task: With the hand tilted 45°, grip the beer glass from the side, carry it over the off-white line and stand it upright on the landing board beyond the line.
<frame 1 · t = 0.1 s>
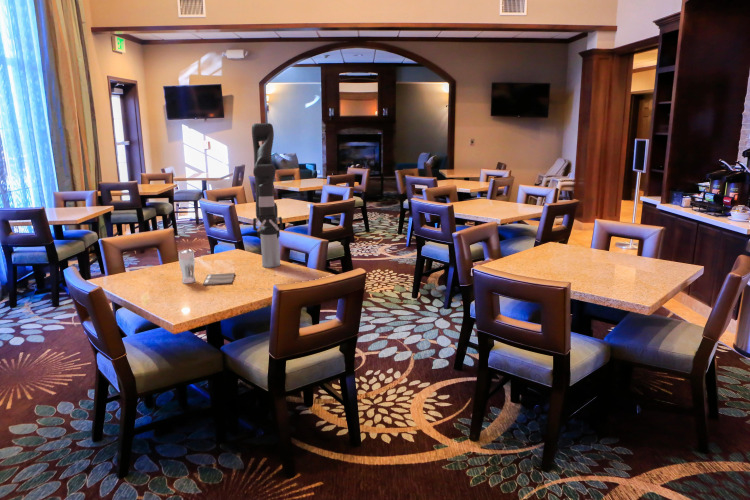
hand: (268, 238, 267), 17 cm above the table, tool pointing down, fingers open, 8 cm apart
landing board: (219, 280, 259), on the table
beer glass: (189, 282, 257), on the table
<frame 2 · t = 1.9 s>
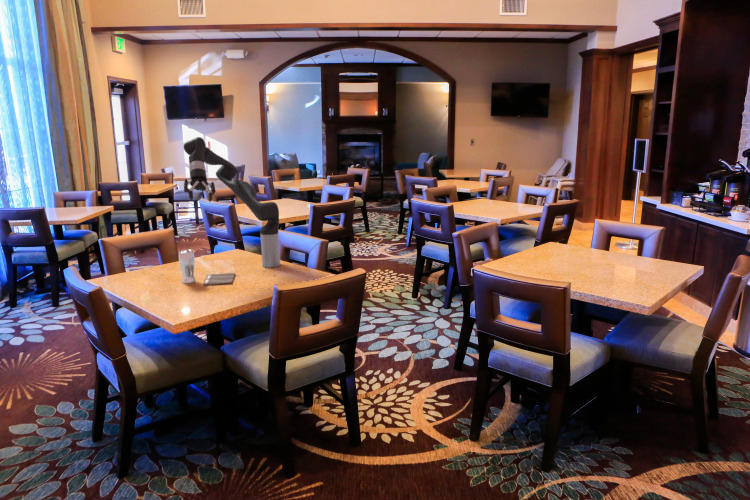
hand: (201, 199, 256), 38 cm above the table, tool tilted 40°, fingers open, 8 cm apart
nothing on the table moved.
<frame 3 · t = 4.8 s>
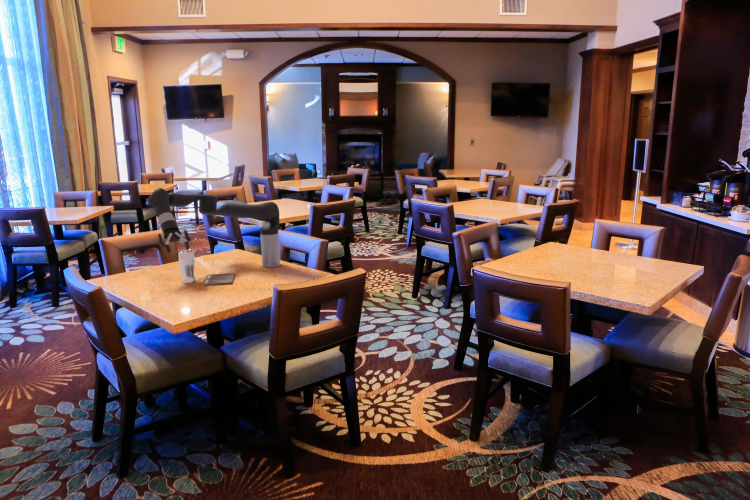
hand: (178, 251, 259), 14 cm above the table, tool tilted 45°, fingers open, 8 cm apart
nothing on the table moved.
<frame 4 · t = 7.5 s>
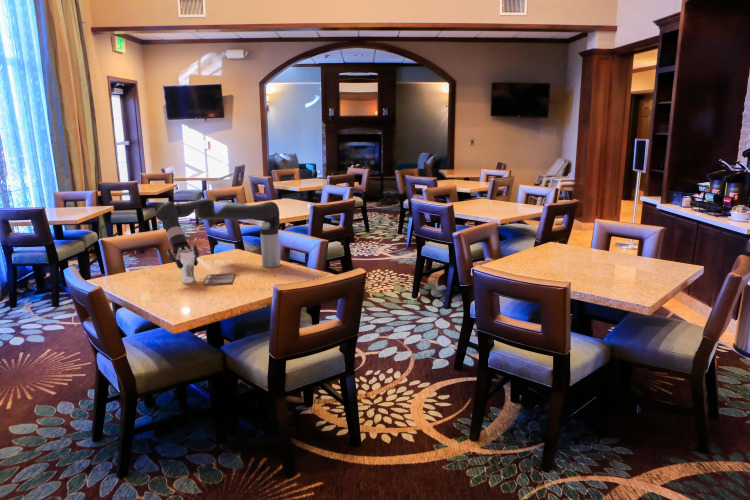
hand: (188, 266, 254), 8 cm above the table, tool tilted 45°, fingers closed on beer glass, 7 cm apart
beer glass: (189, 282, 257), on the table, touching gripper
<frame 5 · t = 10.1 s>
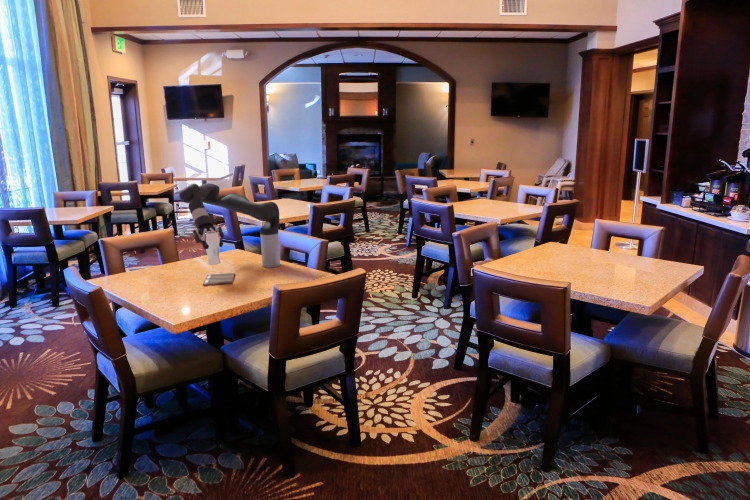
hand: (214, 247, 253), 17 cm above the table, tool tilted 45°, fingers closed on beer glass, 7 cm apart
beer glass: (214, 263, 256), point 8 cm above the table, touching gripper
when the fingers open (10 cm above the table, at t = 13.0 s): beer glass drops 1 cm, resting on landing board.
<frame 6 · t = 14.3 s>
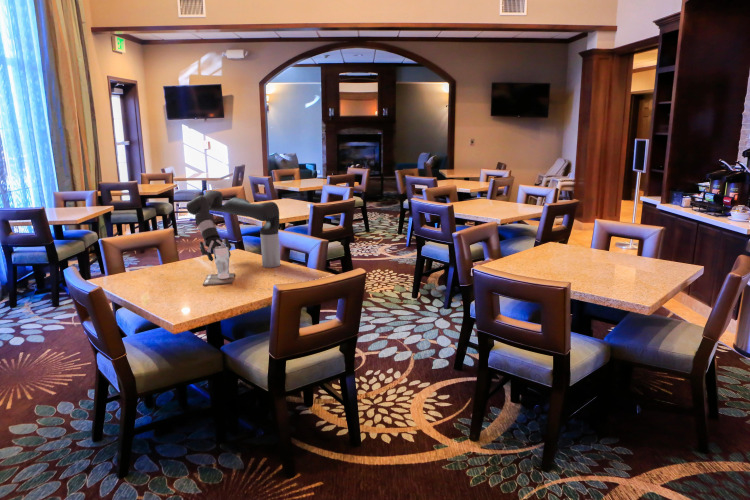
hand: (220, 258, 257), 10 cm above the table, tool tilted 45°, fingers open, 8 cm apart
beer glass: (224, 278, 259), point 1 cm above the table, touching gripper, landing board
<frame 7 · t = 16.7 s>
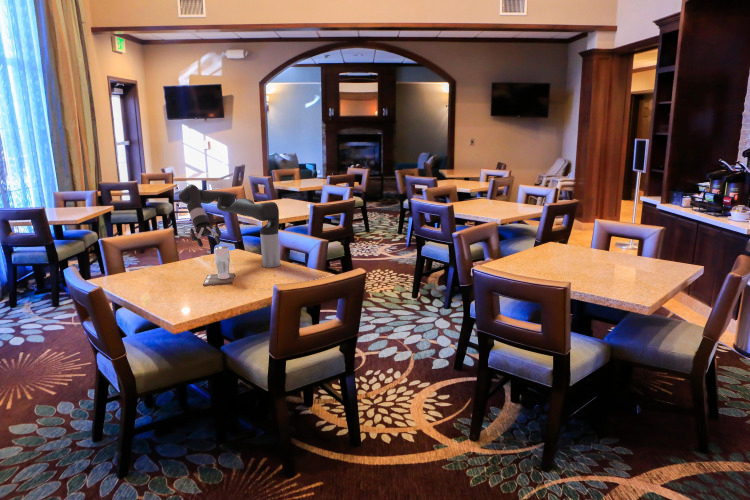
hand: (210, 244, 264), 15 cm above the table, tool tilted 45°, fingers open, 8 cm apart
beer glass: (224, 278, 259), point 1 cm above the table, touching landing board
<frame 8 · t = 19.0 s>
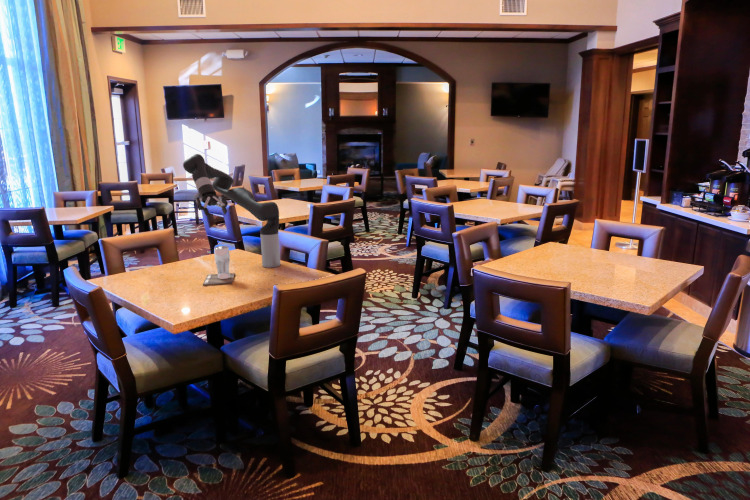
hand: (217, 214, 259), 31 cm above the table, tool tilted 45°, fingers open, 8 cm apart
nothing on the table moved.
at the end: beer glass inside the target area (0.7 cm from its centre), point 0.6 cm above the table; beer glass tilted 0°; the gripper is holding nothing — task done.
